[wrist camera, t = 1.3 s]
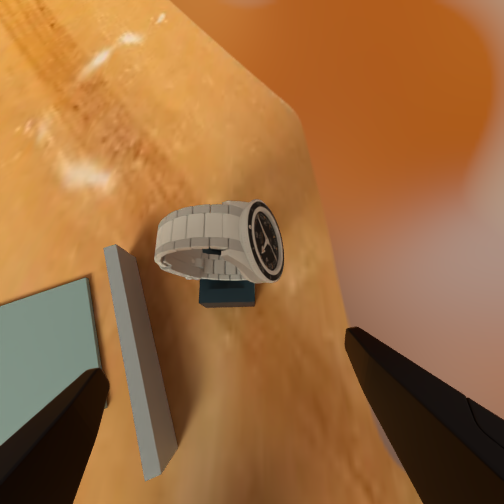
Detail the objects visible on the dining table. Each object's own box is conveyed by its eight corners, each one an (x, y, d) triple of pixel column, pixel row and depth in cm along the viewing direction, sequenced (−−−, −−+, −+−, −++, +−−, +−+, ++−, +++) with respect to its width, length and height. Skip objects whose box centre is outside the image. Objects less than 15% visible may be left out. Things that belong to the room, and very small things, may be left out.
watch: (276, 305, 21) (300, 277, 11) (186, 308, 21) (123, 281, 11) (272, 247, 23) (290, 175, 13) (190, 249, 23) (140, 177, 12)
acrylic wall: (178, 447, 18) (161, 474, 14) (165, 453, 17) (145, 481, 14) (135, 257, 22) (115, 244, 19) (125, 261, 22) (103, 248, 19)
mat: (107, 407, 18) (104, 408, 18) (-31, 463, 17) (-38, 466, 17) (88, 278, 22) (85, 277, 21) (-29, 317, 21) (-34, 317, 20)
